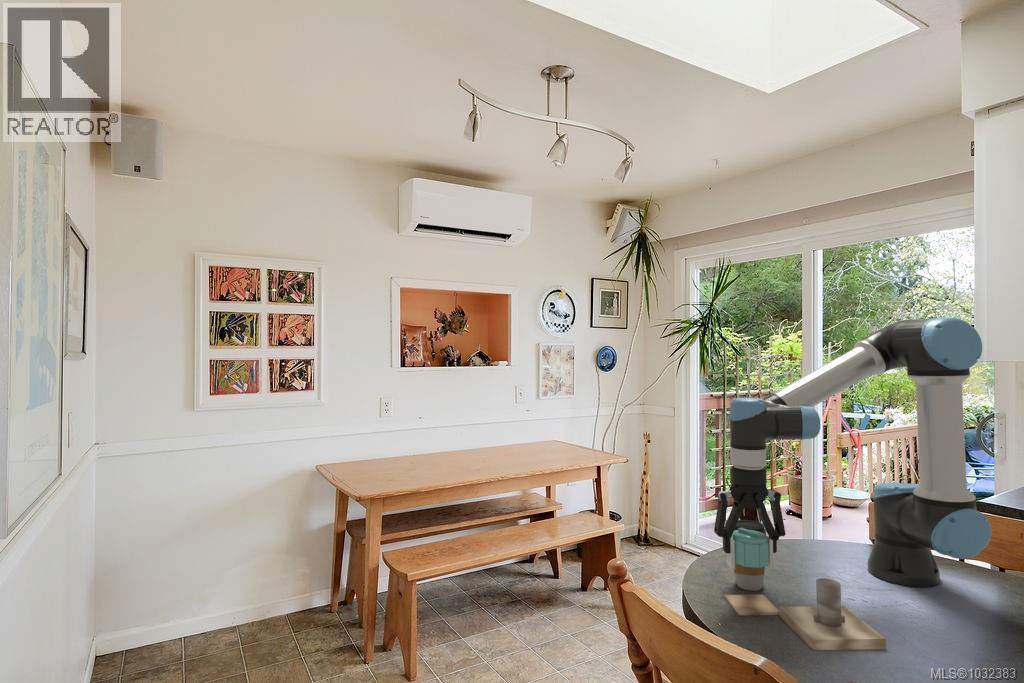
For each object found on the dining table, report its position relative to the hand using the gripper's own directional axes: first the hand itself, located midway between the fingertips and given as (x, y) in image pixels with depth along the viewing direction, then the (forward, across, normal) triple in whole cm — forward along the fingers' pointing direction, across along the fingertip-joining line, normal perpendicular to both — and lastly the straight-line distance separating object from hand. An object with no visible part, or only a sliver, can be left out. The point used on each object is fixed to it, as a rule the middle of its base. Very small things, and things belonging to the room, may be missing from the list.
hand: (750, 566), depth 129 cm
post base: (+9, -11, +12) cm, 19 cm away
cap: (-1, 0, 0) cm, 1 cm away
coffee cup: (+9, -4, -11) cm, 15 cm away
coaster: (+9, 0, 0) cm, 9 cm away
